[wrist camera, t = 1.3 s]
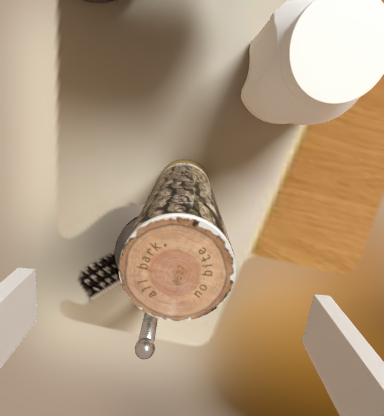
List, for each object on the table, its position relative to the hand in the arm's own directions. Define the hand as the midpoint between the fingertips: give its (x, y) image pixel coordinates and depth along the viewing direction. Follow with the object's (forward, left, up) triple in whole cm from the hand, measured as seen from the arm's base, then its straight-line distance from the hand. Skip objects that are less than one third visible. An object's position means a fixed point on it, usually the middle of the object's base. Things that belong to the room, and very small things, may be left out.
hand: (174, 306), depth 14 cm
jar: (-15, +11, -28) cm, 34 cm away
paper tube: (0, 0, -28) cm, 28 cm away
